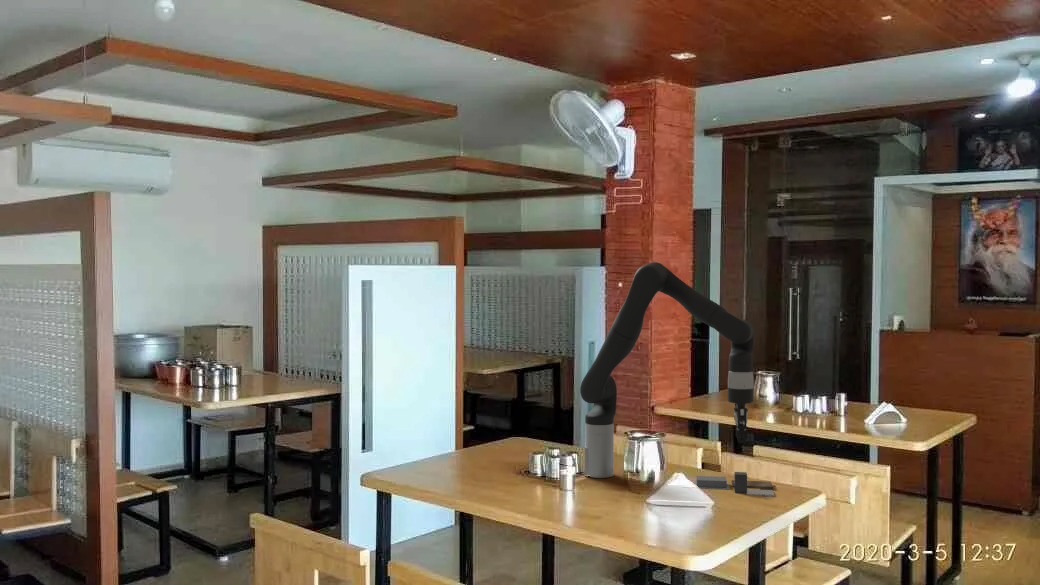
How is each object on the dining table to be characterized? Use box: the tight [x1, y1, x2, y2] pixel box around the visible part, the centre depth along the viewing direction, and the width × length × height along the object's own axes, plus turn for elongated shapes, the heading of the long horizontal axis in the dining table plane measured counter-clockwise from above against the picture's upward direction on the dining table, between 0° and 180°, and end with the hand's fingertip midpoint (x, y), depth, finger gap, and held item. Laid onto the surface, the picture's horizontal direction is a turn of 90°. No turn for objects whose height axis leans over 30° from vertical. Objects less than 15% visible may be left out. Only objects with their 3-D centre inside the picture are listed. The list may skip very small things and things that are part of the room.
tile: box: [695, 475, 728, 488], centre depth 276 cm, size 2×6×9 cm
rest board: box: [731, 479, 774, 491], centre depth 276 cm, size 12×7×1 cm, turn 80°
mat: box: [692, 481, 731, 490], centre depth 276 cm, size 14×8×1 cm, turn 80°
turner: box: [733, 471, 775, 498], centre depth 267 cm, size 6×11×6 cm, turn 80°
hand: (740, 440), depth 267 cm, fingers open, 8 cm apart
